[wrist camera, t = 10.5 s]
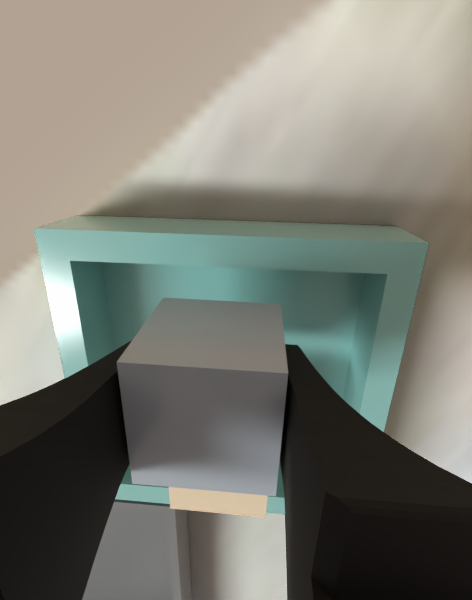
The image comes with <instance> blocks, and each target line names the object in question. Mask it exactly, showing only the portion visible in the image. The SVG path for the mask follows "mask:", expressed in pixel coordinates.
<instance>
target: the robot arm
mask: <svg viewBox="0 0 472 600" xmlns="http://www.w3.org/2000/svg"><path fill="white" fill-rule="evenodd" d="M131 341H132V340H131ZM131 341H129V342H128V343H126V344H124V345H123V346H121V347H119V348H118V349H116V350H114V351H113V352H111V353H109V354H108V355H106V356H104V357H103V358H101V359H99V360H98V361H96V362H94V363H93V364H91V365H89V366H87V367H85V368H83V369H82V370H80V371H78V372H76V373H74V374H73V375H71V376H69V377H67V378H65V379H63V380H61V381H59V382H57V383H55V384H53V385H50V386H48V387H46V388H44V389H41V390H39V391H37V392H35V393H32V394H30V395H27V396H25V397H22V398H20V399H17V400H14V401H11V402H9V403H6V404H3V405H1V406H0V600H82V598H83V595H84V592H85V589H86V586H87V582H88V579H89V576H90V573H91V569H92V566H93V563H94V560H95V557H96V554H97V551H98V548H99V545H100V542H101V539H102V536H103V533H104V530H105V527H106V524H107V521H108V518H109V515H110V512H111V509H112V506H113V504H114V501H115V498H116V495H117V492H118V489H119V487H120V484H121V482H122V480H123V477H124V475H125V473H126V470H127V468H128V466H129V464H130V462H129V454H128V446H127V438H126V431H125V423H124V415H123V408H122V400H121V392H120V385H119V377H118V369H117V361H118V359H119V358H120V357H121V355H122V354H123V353H124V351H125V350H126V348H127V347H128V346H129V344H130V343H131ZM285 348H286V357H287V366H288V381H287V391H286V401H285V411H284V421H283V431H282V441H281V451H280V464H281V472H282V480H283V489H284V500H285V527H286V560H287V600H472V484H471V483H469V482H467V481H466V480H464V479H462V478H460V477H458V476H456V475H454V474H452V473H450V472H448V471H446V470H444V469H442V468H440V467H438V466H436V465H435V464H433V463H431V462H429V461H428V460H426V459H424V458H423V457H421V456H419V455H418V454H416V453H414V452H413V451H411V450H409V449H408V448H406V447H405V446H403V445H402V444H400V443H398V442H397V441H395V440H394V439H392V438H391V437H390V436H388V435H387V434H385V433H384V432H383V431H381V430H380V429H378V428H377V427H376V426H374V425H373V424H372V423H370V422H369V421H368V420H367V419H365V418H364V417H363V416H362V415H361V414H359V413H358V412H357V411H356V410H355V409H353V408H352V407H351V406H350V405H349V404H348V403H347V402H346V401H345V400H343V399H342V398H341V397H340V396H339V395H338V394H337V393H336V392H335V391H334V390H333V388H332V387H331V386H330V385H329V384H328V383H327V382H326V381H325V379H324V378H323V377H322V376H321V375H320V373H319V372H318V371H317V370H316V369H315V367H314V366H313V365H312V363H311V362H310V361H309V359H308V358H307V357H306V355H305V354H304V352H303V351H302V350H301V348H300V347H299V346H298V345H291V344H285Z"/></svg>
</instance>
